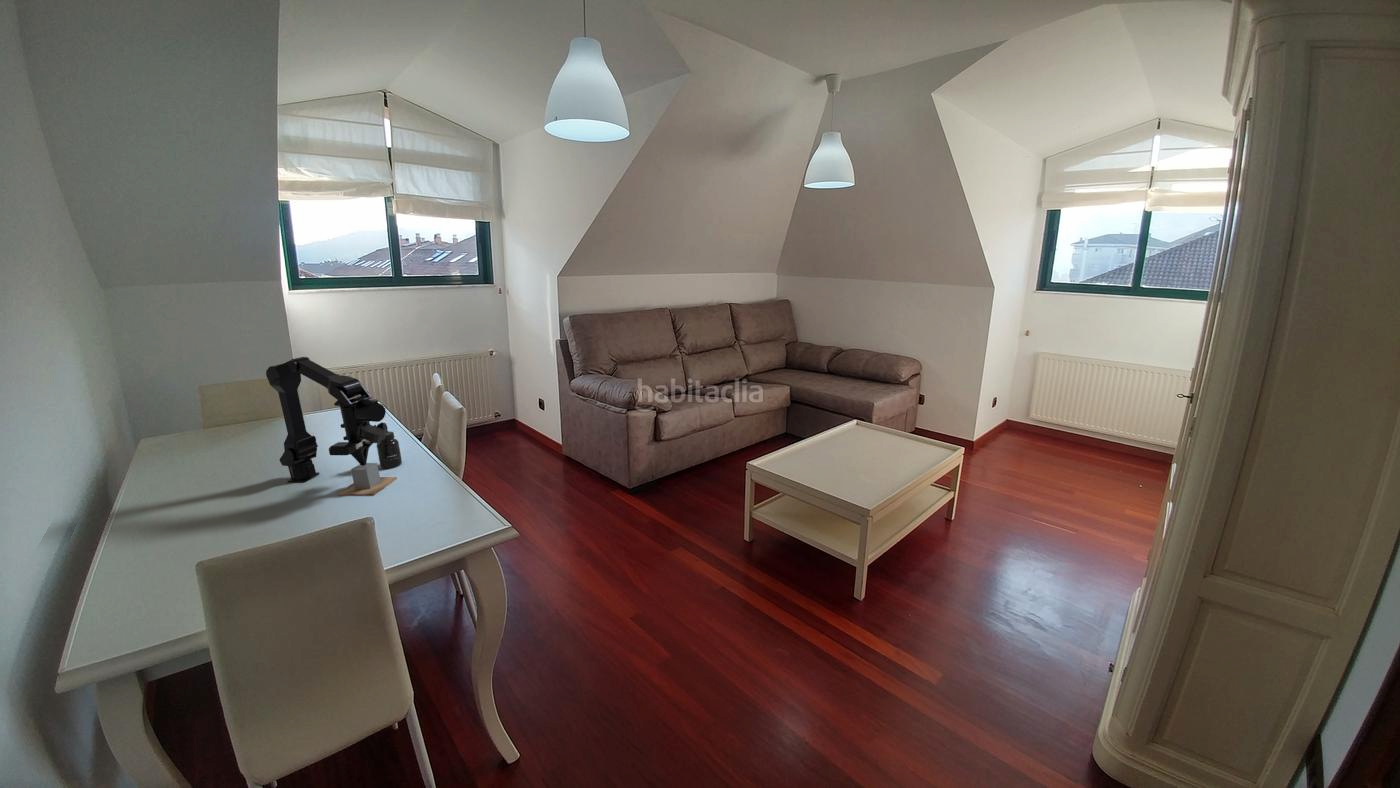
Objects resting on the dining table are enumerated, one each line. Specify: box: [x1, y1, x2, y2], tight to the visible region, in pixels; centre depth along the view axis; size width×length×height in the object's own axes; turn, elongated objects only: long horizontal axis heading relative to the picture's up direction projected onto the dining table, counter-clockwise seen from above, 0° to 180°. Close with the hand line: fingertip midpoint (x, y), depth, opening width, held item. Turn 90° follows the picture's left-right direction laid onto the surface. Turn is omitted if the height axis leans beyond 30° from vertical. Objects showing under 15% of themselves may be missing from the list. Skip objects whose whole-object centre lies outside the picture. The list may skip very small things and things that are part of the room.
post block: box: [336, 476, 398, 496], centre depth 173 cm, size 12×12×6 cm
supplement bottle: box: [376, 430, 403, 470], centre depth 189 cm, size 7×7×12 cm
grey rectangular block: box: [350, 462, 381, 489], centre depth 173 cm, size 5×5×7 cm
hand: (363, 465), depth 172 cm, fingers closed
